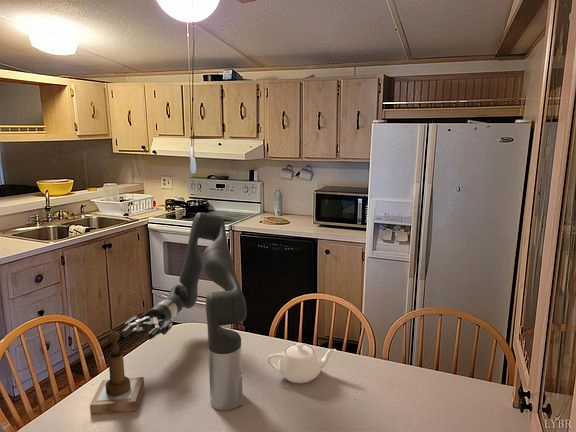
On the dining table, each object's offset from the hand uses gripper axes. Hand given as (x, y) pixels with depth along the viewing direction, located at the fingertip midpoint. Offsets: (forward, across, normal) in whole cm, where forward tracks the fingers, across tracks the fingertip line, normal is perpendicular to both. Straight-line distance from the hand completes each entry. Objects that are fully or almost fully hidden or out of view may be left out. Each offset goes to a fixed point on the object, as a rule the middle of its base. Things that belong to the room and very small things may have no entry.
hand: (136, 335), depth 129 cm
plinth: (+11, 0, +15) cm, 18 cm away
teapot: (-12, +50, +15) cm, 54 cm away
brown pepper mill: (+11, 0, +12) cm, 16 cm away
